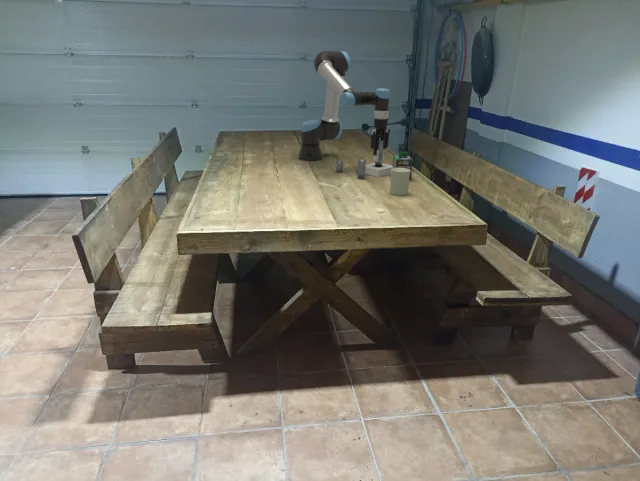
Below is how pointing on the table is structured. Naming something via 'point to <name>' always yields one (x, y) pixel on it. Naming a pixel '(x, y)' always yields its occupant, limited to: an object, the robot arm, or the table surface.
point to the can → (399, 181)
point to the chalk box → (403, 162)
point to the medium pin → (361, 168)
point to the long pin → (379, 154)
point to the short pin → (339, 166)
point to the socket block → (378, 170)
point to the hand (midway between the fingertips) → (378, 160)
